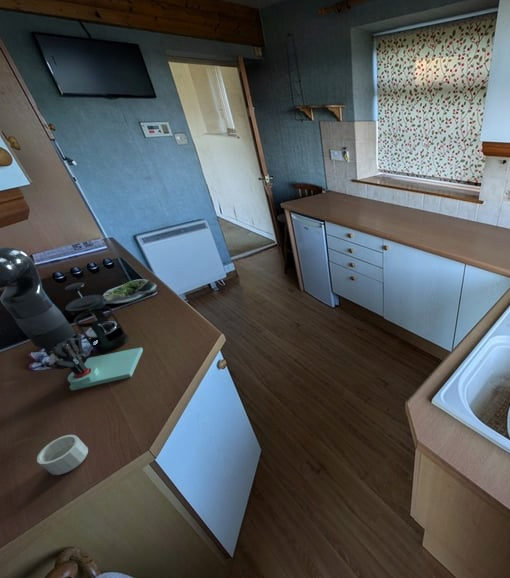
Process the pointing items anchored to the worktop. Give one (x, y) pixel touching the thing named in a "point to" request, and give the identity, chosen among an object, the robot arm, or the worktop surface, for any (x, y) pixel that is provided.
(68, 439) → the bowl
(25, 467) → the worktop surface
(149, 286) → the salad plate
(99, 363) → the scale
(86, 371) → the tare button
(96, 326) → the french press
